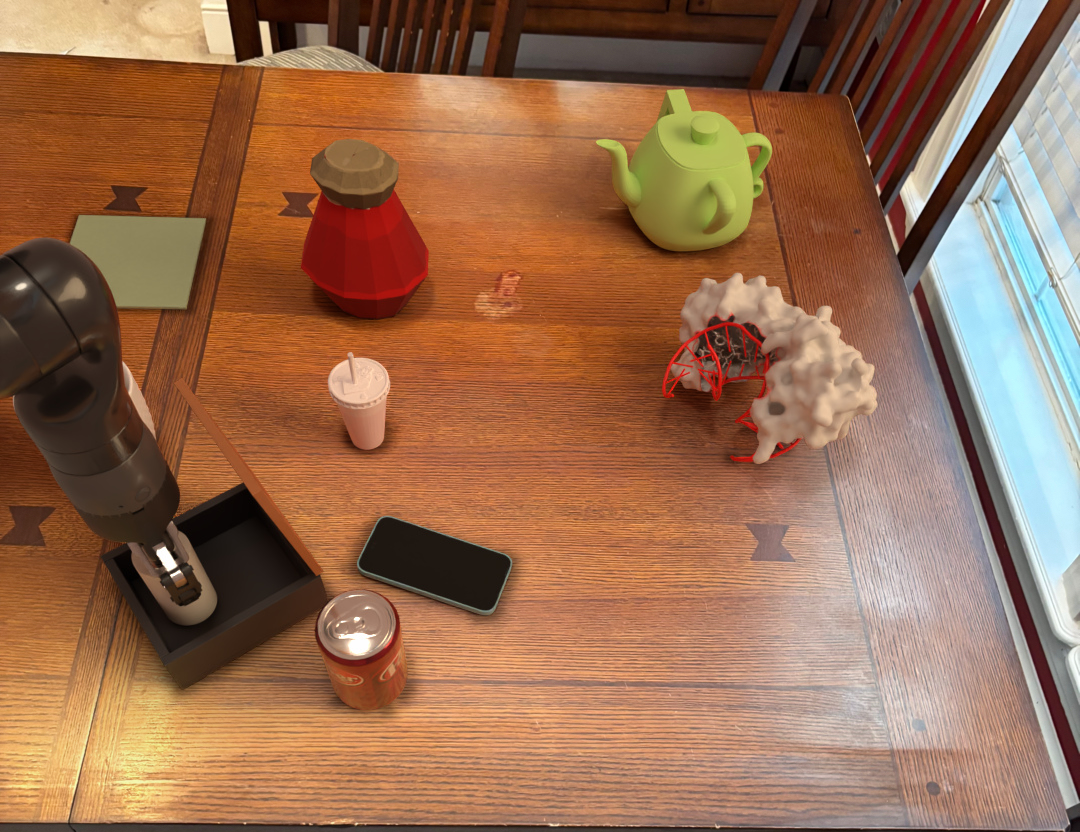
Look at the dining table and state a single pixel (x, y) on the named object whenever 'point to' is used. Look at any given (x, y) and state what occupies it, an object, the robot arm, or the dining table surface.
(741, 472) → the dining table surface
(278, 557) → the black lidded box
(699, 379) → the protein dna model
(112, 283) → the mat
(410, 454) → the dining table surface
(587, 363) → the dining table surface
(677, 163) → the teapot
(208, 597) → the white cylinder
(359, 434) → the smoothie
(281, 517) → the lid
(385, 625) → the soda can
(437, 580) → the smartphone
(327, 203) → the bottle
